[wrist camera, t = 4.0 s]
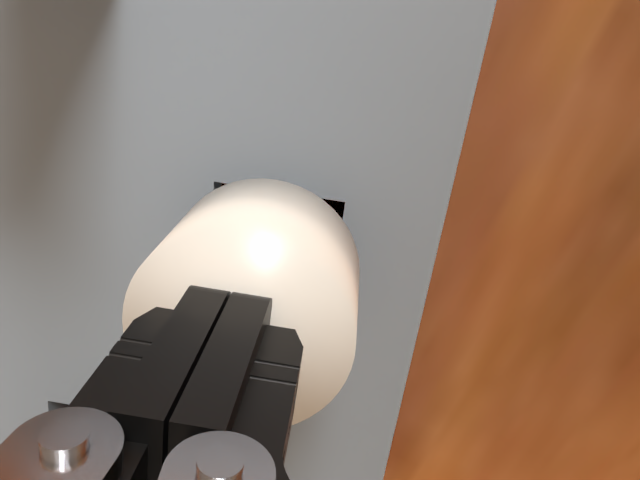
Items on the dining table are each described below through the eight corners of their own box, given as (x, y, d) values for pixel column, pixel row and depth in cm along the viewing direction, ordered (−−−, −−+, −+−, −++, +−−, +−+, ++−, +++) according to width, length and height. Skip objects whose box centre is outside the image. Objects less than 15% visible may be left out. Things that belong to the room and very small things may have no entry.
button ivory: (374, 161, 15) (375, 248, 10) (348, 305, 17) (337, 448, 11) (211, 136, 15) (122, 208, 10) (202, 281, 17) (121, 412, 11)
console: (529, -285, 13) (593, -405, 9) (359, 492, 22) (357, 591, 18) (18, -353, 13) (-123, -495, 9) (61, 441, 23) (-1, 528, 19)
